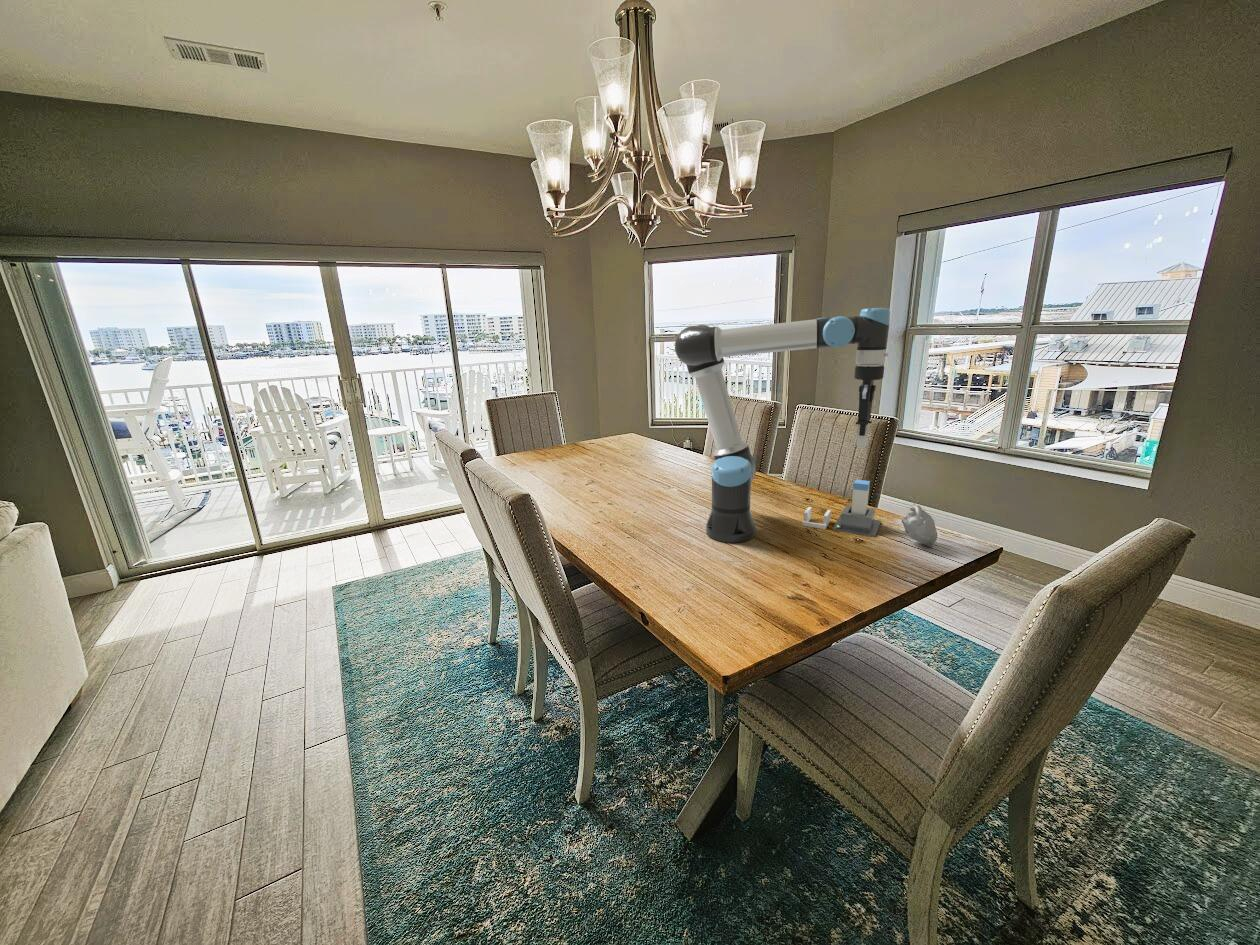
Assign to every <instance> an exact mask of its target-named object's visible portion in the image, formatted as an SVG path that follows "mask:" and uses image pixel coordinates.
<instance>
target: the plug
mask: <svg viewBox="0 0 1260 945" xmlns="http://www.w3.org/2000/svg"><path fill="white" fill-rule="evenodd" d="M870 484H871V480H865V479H864V480H862V479H855V480H854V482H853V488H852V490H853V491H852V500H851V506H852V509H851V513H853V514H859V515H867V508H868V504H869V495H870Z"/></svg>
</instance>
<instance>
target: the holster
mask: <svg viewBox="0 0 1260 945" xmlns="http://www.w3.org/2000/svg"><path fill="white" fill-rule="evenodd" d="M831 516H832V510H831V509H827V510H826V512H825V513H824V514H823V518H822V520H823V521H822V523H820V522H819V523H818V522H813V521H812V522H811V519H812V506H808V507H807V508H806V509H805V511H804V512H803V521H802V524H801V526H802V527H803V526H804V527H810V528H815V529H821V530H826V529H827V527H828V526H829V524H830V523H831Z"/></svg>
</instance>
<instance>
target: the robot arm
mask: <svg viewBox="0 0 1260 945" xmlns="http://www.w3.org/2000/svg"><path fill="white" fill-rule="evenodd" d="M890 316H891V311H890V309H889V308H887V307H874V308H873V307H872V308H871V307H870V308H863V309H861V310H860V313H859V315H855V316H844V315H839V316H838V315H837V316H834V317H833V316H830V317H829V316H826V317H825V316H824V317H818V318H815V319H805V320H798V321H789V322H780V323H779V322H778V323H770V324H762V325H750V326H744V327H743V326H742V327H736V328H735V327H734V328H733V327H732V328H726V329H721V328H720V327H719V326H709V325H704V324H699V325H690V326H687V327H685V328H684V329H682V330H681V331H680V332H679V333H678V334H677V336H676V338H675V342H674V351H675V354H676V357H677V358H678V359H679V361H680V362H682V363H683V364H685V366H686V367H687V371H688V372H687V373H688V374H689V375H690V376H692V377H694V379H695V381H696V384H697V388H698V392H699V394H700V398H701V401H702V405H703V407H704V408H703V409H704V412H705V414H706V419H707V422H708V425H709V429H710V431H711V435H712V439H713V441H714V445H715V450H714V451H713V458H714V462H713V463H712V466H711V472H710V474H711V510H710V513H709V516H708V519H707V521H706V525H705V534H706V535H707V536H708V537H709V538H710V539H712V540H714V541H715V540H716V541H718V542H723V543H730V544H731V543H734V544H735V543H745V542H747V541H750V540H752V539H753V538H754V537H755V536H756V525H755V522H754V519H753V516H752V512H751V494H752V493H751V487H752V484H753V481H754V478H755V476H756V472H757V462H756V460H755V458H754V456H753V455H752V454H751V450H750V447H749V444H748V443H747V442H745V441H744V440H742V436H741V433H740V429H739V426H738V422H737V419H736V415H735V412H734V409H733V405H732V401H731V398H730V395H729V391H728V387H727V385H726V384H727V383H726V380H725V378H724V373H723V371H722V369H723V367H724V365H725V363H726V362H725V360H724V358H727V357H736V356H748V355H749V356H750V355H759V354H760V355H761V354H768V353H778V352H779V353H781V352H789V351H799V350H800V351H801V350H812V349H824V348H826V349H827V348H842V347H845V346H846V345H856V344H857V347H856V354H855V362H854V363H855V364H856V366H855V368H854V379H855V380H859V381H861V380H862V383H861V385H860V386H859V388H858V396H859V397H858V398H859V399H858V400H859V401H858V413H857V415H858V416H857V421H855V425H857V435H856V443H855V446H857V447H867V446H868V437H869V430H870V429H869V428H870V424H872V422H873V421H872V420H871V415H872V414H871V413H872V408H873V407H872V406H873V401H874V396H875V392H876V389H877V384H875V383H874V382H875V381H879V380H883V379H884V375H885V374H884V373H885V366H884V364H885V362H886V357H888V356H889V353H888V352H887V346H888V340H889V339H888V338H889V333H890V332H889V331H890V326H891V324H890V320H891V318H890Z"/></svg>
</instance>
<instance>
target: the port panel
mask: <svg viewBox="0 0 1260 945" xmlns="http://www.w3.org/2000/svg"><path fill="white" fill-rule="evenodd" d="M851 509H852V505H849V504H846V505H845V507H844V509H843V510H842V512H841V514H839V516H838V518H837V520H836V521H835V523H834V526H832V531H837V532H843V533H847V534H854V535H859V536H865V537H871V538H876V536H877V534H878V532H879V528H880V525H881V523H882V520H879V519H875V514H876V508H871V507H867V515H859V514H853V513H851Z"/></svg>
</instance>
